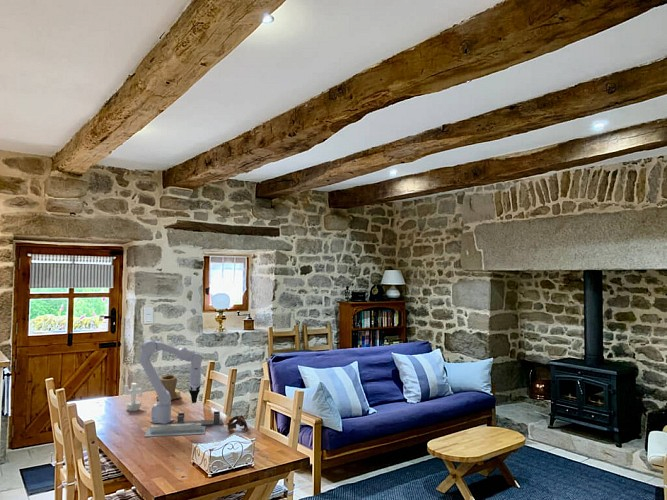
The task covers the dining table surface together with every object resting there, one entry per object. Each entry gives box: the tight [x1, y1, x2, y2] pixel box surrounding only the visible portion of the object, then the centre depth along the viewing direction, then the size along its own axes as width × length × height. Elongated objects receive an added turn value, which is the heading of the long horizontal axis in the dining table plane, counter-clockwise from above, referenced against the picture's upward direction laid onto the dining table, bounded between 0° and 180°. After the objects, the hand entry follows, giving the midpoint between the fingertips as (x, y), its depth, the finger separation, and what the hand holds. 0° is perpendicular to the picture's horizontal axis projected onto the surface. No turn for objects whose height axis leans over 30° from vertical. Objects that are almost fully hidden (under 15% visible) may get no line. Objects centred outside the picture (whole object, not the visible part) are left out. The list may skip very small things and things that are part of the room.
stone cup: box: [155, 374, 181, 401], centre depth 306 cm, size 15×12×15 cm
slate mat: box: [143, 426, 207, 438], centre depth 246 cm, size 28×12×1 cm, turn 103°
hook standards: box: [174, 411, 223, 427], centre depth 258 cm, size 24×7×6 cm, turn 103°
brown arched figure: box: [226, 415, 249, 432], centre depth 251 cm, size 12×10×8 cm
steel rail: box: [149, 423, 201, 433], centre depth 246 cm, size 24×3×3 cm, turn 103°
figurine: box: [124, 382, 143, 412], centre depth 283 cm, size 7×9×15 cm
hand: (194, 401), depth 269 cm, fingers open, 7 cm apart
